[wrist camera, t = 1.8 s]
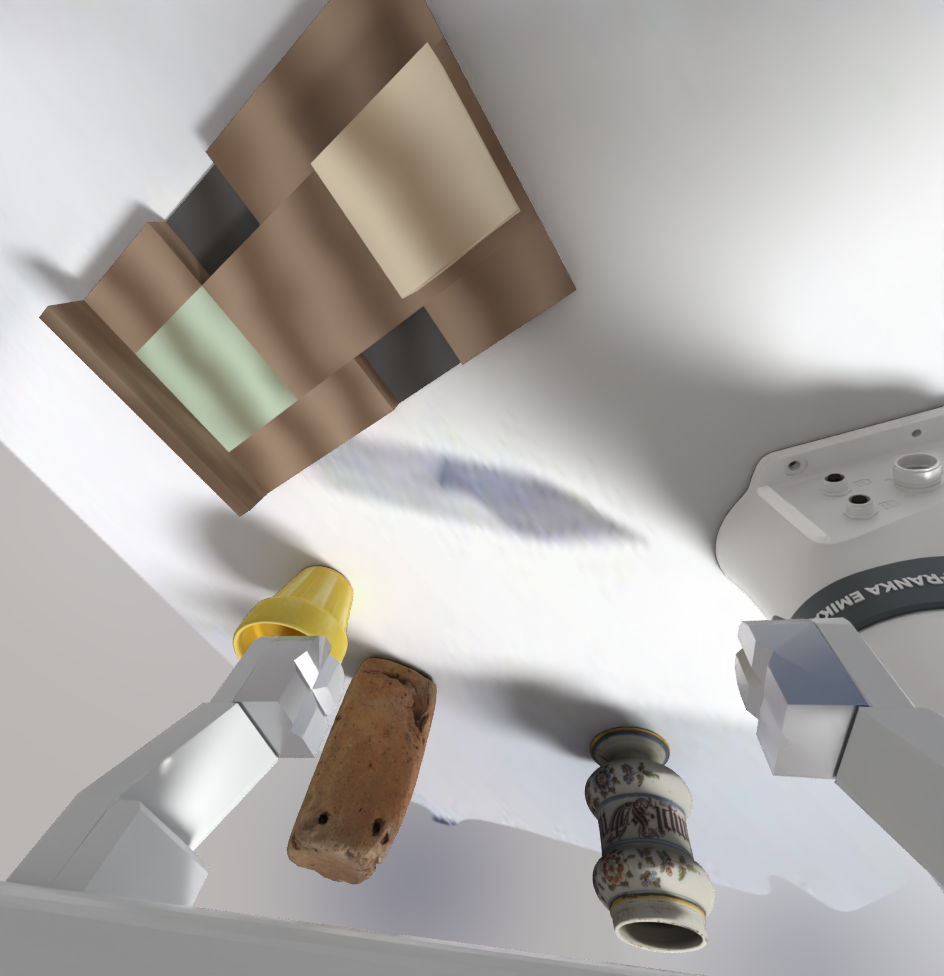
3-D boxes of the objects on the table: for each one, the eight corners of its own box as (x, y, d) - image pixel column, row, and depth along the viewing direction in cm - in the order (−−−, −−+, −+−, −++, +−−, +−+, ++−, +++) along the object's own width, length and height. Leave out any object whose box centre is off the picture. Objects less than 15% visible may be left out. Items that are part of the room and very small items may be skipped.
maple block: (443, 66, 26) (427, 42, 22) (520, 211, 28) (517, 209, 25) (338, 171, 29) (310, 163, 25) (417, 291, 32) (402, 298, 28)
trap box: (398, -50, 25) (367, -107, 21) (574, 286, 32) (579, 295, 28) (96, 307, 38) (39, 317, 34) (268, 489, 45) (239, 516, 41)
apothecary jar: (621, 785, 62) (646, 968, 47) (562, 742, 59) (568, 923, 44) (699, 757, 57) (756, 954, 41) (638, 708, 54) (675, 901, 38)
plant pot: (351, 633, 54) (316, 707, 46) (272, 595, 53) (221, 664, 45) (384, 580, 49) (350, 653, 41) (297, 536, 48) (244, 602, 39)
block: (353, 681, 59) (275, 866, 42) (364, 646, 55) (283, 834, 38) (431, 707, 60) (385, 901, 42) (447, 674, 56) (403, 873, 39)
